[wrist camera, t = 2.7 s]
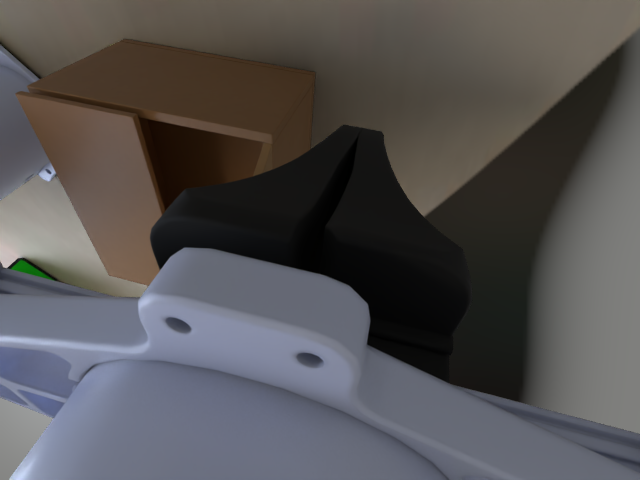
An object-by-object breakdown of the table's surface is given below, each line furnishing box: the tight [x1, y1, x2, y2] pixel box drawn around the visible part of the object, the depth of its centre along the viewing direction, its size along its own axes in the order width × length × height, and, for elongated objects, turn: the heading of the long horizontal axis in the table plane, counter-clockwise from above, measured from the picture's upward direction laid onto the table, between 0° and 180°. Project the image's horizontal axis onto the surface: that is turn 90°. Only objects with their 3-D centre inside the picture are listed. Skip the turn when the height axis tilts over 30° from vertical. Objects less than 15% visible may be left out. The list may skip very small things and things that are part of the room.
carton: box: [15, 39, 315, 286], centre depth 23 cm, size 12×13×8 cm
